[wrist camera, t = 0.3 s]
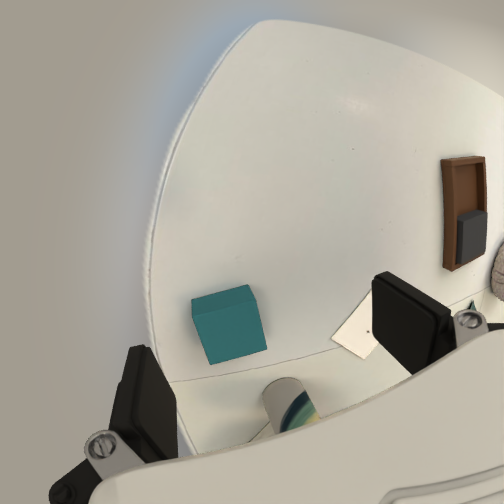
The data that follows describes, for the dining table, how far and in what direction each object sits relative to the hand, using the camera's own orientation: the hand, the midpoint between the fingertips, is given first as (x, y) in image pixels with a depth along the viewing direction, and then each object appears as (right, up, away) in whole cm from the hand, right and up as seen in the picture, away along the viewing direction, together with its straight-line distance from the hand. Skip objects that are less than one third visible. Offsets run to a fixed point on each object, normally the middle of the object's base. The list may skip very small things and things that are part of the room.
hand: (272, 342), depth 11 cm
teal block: (-3, -3, +19) cm, 20 cm away
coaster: (+14, -6, +24) cm, 29 cm away
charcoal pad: (+31, +6, +24) cm, 40 cm away
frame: (+30, +10, +23) cm, 39 cm away
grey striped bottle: (+3, -15, +24) cm, 29 cm away
